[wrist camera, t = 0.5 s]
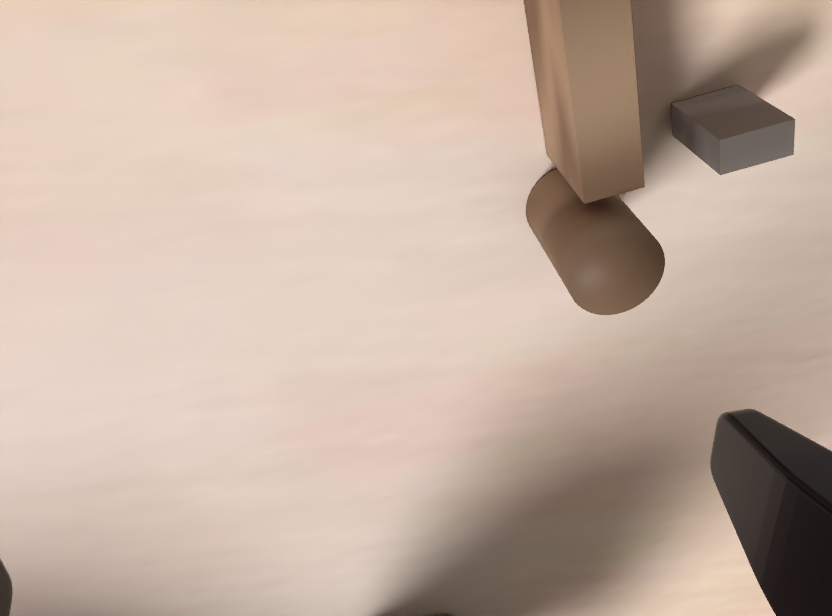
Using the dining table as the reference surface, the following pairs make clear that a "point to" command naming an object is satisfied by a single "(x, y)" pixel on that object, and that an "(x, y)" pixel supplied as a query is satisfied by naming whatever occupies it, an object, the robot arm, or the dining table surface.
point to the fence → (619, 149)
